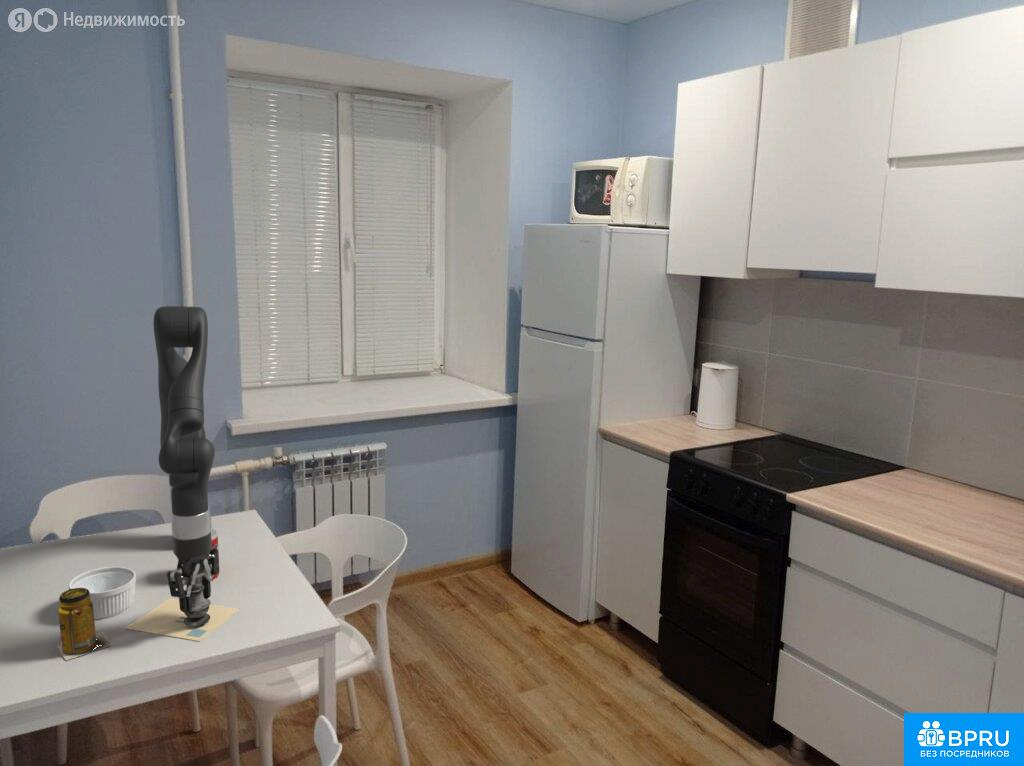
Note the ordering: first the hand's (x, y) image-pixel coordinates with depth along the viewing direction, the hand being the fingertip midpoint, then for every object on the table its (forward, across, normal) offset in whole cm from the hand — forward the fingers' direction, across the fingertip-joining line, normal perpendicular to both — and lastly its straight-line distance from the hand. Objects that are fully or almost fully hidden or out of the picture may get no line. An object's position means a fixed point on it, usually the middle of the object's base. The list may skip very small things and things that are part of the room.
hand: (196, 603), depth 162 cm
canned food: (+5, +20, +13) cm, 24 cm away
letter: (+5, +1, +4) cm, 6 cm away
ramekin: (+5, 0, +24) cm, 24 cm away
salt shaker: (+4, 0, 0) cm, 4 cm away
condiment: (+5, -14, +16) cm, 22 cm away
